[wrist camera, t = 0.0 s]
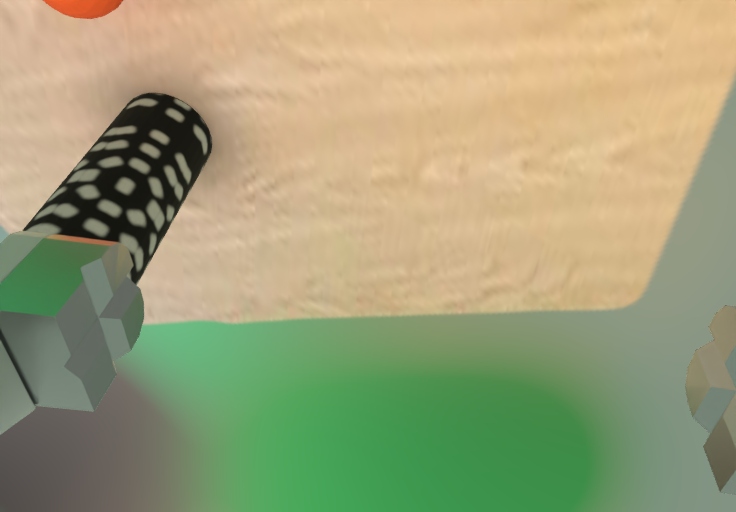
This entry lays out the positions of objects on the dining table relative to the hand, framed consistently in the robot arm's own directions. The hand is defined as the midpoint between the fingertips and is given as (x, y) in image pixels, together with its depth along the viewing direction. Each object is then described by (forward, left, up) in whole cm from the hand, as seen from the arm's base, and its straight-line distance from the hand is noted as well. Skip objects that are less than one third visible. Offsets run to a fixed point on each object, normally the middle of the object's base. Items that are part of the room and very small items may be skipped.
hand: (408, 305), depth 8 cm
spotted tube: (+24, -24, -39) cm, 52 cm away
